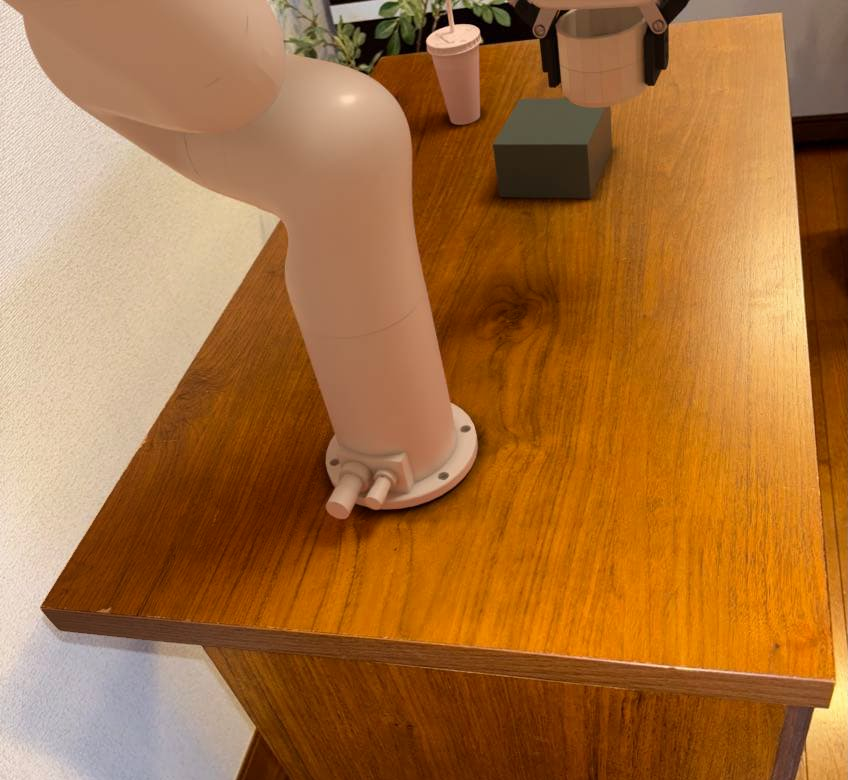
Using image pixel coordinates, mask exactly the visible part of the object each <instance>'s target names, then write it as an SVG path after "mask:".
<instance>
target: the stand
mask: <svg viewBox="0 0 848 780" xmlns="http://www.w3.org/2000/svg"><path fill="white" fill-rule="evenodd" d="M611 107H612V106H609V107H601V108H589V107H582V106H578V105H575V104H573V103H571V102H570V101H569V100H568V99H567V97H550V98H549V97H548V98H541V97H540V98H520V99H518V101H517V103H516V104H515V106H514V108H513V110H512V111H511V113H510V115H509V117H508V118H507V119H506V122H504V125H503V126H502V128H501V130H500V132H499V133H498V135H497V136H496V138H495V139H494V141H493V143H492V149H493V157H494V164H495V172H496V179H497V186H498V192H499V194H498V195H499V198H523V199H526V198H527V199H529V198H530V199H576V200H577V199H581V200H583V199H584V200H585V199H586V200H587V199H588V200H589V199H592V197H593V194H594V192H595V190H596V188H597V186H598V184H599V181H600V179H601V176H602V174H603V172H604V169H605V168H606V166H607V163H608V161H609V159H610V157H611V155H612V152H613V133H612V132H613V131H612V109H611Z"/></svg>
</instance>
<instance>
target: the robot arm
mask: <svg viewBox="0 0 848 780" xmlns="http://www.w3.org/2000/svg"><path fill="white" fill-rule="evenodd" d="M2 1H3V2H5V3H6V4H7V5H8V6H9V7H11V8H12V9H14V10H15V11H16V12H17V13H18V14H20V15H21V16H22V20H23V27H24V30H25V34H26V38H27V41H28V44H29V46H30V49H31V51H32V54H33V55H34V58H35V59H36V61H37V63H38V65H39V67H40V68H41V69H42V71H43V73H44V74H45V75H46V77H47V78H48V79H49V81H50V82H51V83H52V84H53V85H54V86H55V88H56V89H58V91H60V92H61V93H62V94H63V95H64V96H65V97H66V98H67V99H68V100H70V101H71V102H72V103H73V104H75V105H76V106H77V107H78V108H80V109H81V110H83V111H84V112H86V113H87V114H89V115H90V116H91V117H93V118H95V120H97V121H99V122H101V123H102V124H103V125H105V126H106V127H107V128H109V129H111V130H112V131H113V132H115V133H117V134H119V135H120V136H122V137H123V138H125V140H127V141H129V142H130V143H132V144H133V145H134V146H136V147H138V148H140V149H141V150H142V151H144V152H145V153H147V154H149V155H150V156H151V157H153V158H154V159H156V160H157V161H159V162H161V163H162V164H164V165H165V166H167V167H168V168H170V169H171V170H173V171H175V172H176V173H178V174H179V175H181V176H182V177H184V178H186V179H187V180H189V181H191V182H193V183H194V184H196V185H198V186H200V187H202V188H204V189H206V190H208V191H211V192H214V193H216V194H219V195H222V196H223V197H227V198H229V199H232V200H235V201H239V202H241V203H243V204H247V205H250V206H253V207H255V208H257V209H258V210H261V211H263V212H266V213H269V214H272V215H274V216H276V217H277V218H278V220H280V221H281V222H282V223H283V225H284V227H285V230H286V233H287V240H288V242H287V243H288V244H287V251H286V256H285V262H284V280H285V286H286V291H287V295H288V298H289V303H290V305H291V308H292V311H293V314H294V317H295V319H296V321H297V324H298V328H299V330H300V334H301V337H302V340H303V342H304V345H305V348H306V351H307V355H308V357H309V360H310V363H311V367H312V369H313V373H314V375H315V378H316V382H317V385H318V388H319V390H320V393H321V396H322V399H323V402H324V405H325V408H326V411H327V415H328V417H329V420H330V423H331V426H332V429H333V433H334V435H333V436H332V438H331V439H330V441H329V443H328V447H327V449H326V451H325V452H326V453H325V466H326V471H327V474H328V477H329V481H330V482H331V484H332V486H333V488H334V489H333V491H332V493H331V495H330V496H329V498H328V500H327V502H326V504H325V509H326V512H327V513H328V514H329V515H330V516H332V517H334V518H336V519H338V520H345V519H347V518H348V517H349V516H350V514H351V513H352V511H353V509H354V507H355V505H358V506H362V507H366V508H369V509H370V510H371V509H372V510H374V511H379V510H399V509H406V508H409V507H410V508H412V507H415V506H419V505H423V504H425V503H428V502H430V501H433V500H435V499H436V498H439V497H441V496H443V495H444V494H446V493H447V492H449V491H450V490H452V489H454V488H455V487H456V486H457V485H458V484H459V483H460V482H461V481H462V480H463V479H465V477H466V476H467V474H468V473H469V472H470V470H471V469H472V467H473V465H474V463H475V461H476V458H477V454H478V450H479V449H478V448H479V442H478V434H477V431H476V427H475V424H474V422H473V421H472V419H471V417H470V416H469V415H468V413H466V411H464V409H462V408H461V407H459V406H457V405H456V404H454V403H452V402H451V399H450V398H451V397H450V394H449V393H450V392H449V390H448V389H449V388H448V386H447V385H448V384H447V379H446V375H445V370H444V364H443V360H442V356H441V351H440V346H439V341H438V337H437V332H436V327H435V323H434V318H433V313H432V309H431V304H430V299H429V294H428V289H427V284H426V281H425V277H424V273H423V267H422V262H421V258H420V252H419V246H418V241H417V235H416V228H415V227H416V226H415V219H414V207H413V145H412V144H413V143H412V137H411V131H410V126H409V122H408V119H407V117H406V115H405V112H404V110H403V109H402V106H401V104H400V103H399V102H398V100H397V99H396V98H395V97H394V95H393V94H392V93H391V92H390V91H389V90H388V89H387V88H386V87H385V86H384V85H382V84H381V82H379V81H377V80H376V79H374V78H373V77H371V76H369V75H367V74H366V73H364V72H362V71H359V70H357V69H354V68H352V67H349V66H346V65H343V64H339V63H336V62H332V61H327V60H322V59H318V58H314V57H313V58H312V57H308V56H303V55H298V54H293V53H286V47H285V43H284V37H283V33H282V30H281V28H280V27H281V26H280V25H279V24H280V23H279V22H278V20H277V17H276V15H275V13H274V12H273V10H272V8H271V6H270V4H269V2H268V1H267V0H2ZM690 1H691V0H506V2H507V3H509V5H510V6H512V7H513V9H514V12H515V14H516V15H517V16H518V17H519V18H520V19H521V20H522V21H524V22H525V23H526V25H528V26H529V27H530V28H531V29H532V34H533V35H534V37H535V38H536V39H538V40H539V49H540V51H539V52H540V60H541V70H542V73H545V74H547V81H548V87H549V88H550V89H551V88H552V89H553V88H554V89H555V88H556V89H557V87H559V86H560V85H561V84H560V73H559V61H558V50H557V39H556V27H555V25H556V23H557V22H558V20H559V18H558V16H559V14H560V11H570V10H575V9H597V8H617V7H632V6H638V7H639V9H640V11H641V13H642V14H643V16H644V18H645V20H646V21H647V23H648V31H647V33H646V34H645V36H644V68H645V84H647V86H646V87H655V85H656V83H657V81H658V79H659V77H660V76H661V73H662V72H663V71H666V70H667V68H668V66H669V60H670V35H669V34H670V31H669V30H670V29H669V28H670V27H669V26H670V24H671V23H672V22H673V21H674V20H675V19H676V18H677V17H678V16H679V15H680V14H681V12H683V10H685V8H687V6H688V4H689V3H690Z"/></svg>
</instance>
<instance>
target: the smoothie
mask: <svg viewBox="0 0 848 780" xmlns="http://www.w3.org/2000/svg"><path fill="white" fill-rule="evenodd" d="M451 1H452V0H445V5H446V13H447V18H448V25H447V26H444V27H442V28H439V29H436V30H435V31H433V32H432V33H430V34H429V35H428V37H426V40H425V43H426V51H427V53H428V54H430V55H431V59H432V63H433V66H434V69H435V73H436V77H437V80H438V83H439V86H440V90H441V93H442V96H443V97H442V98H443V100H444V103H445V107H446V111H447V114H448V117H449V121H450V123H452V124H454V125H459V126H461V125H462V126H463V125H469V124H471V123H475V122H476V121H478V120H479V119H480V117H481V97H480V96H481V87H480V86H481V85H480V44H481V42H482V36H481V30H480V28H479V27H477V26H476V25H473V24H469V23H468V24H466V23H461V24H460V23H459V24H455V21H454V14H453V9H452V2H451Z"/></svg>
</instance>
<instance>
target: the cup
mask: <svg viewBox="0 0 848 780" xmlns="http://www.w3.org/2000/svg"><path fill="white" fill-rule="evenodd" d="M558 19H559V20H558V22H557V23H556V25H555V27H556V39H557V50H558V61H559V73H560V84H559V85H560V89H561V93H562V96H564V97H565V98H567V99H568V100H569V101H570V102H571V103H573V104H575V105H578V106H582V107H589V108H601V107H609V106H610V107H615V106H618V105H621V104H624V103H627V102H630V101H632V100H634V99H636V98H637V97H638V96H640V95H641V94H642V93H643V92H644V91H645V89H646V87H648V86H647V84H645V68H644V36H645V34H646V33H647V31H648V23H647V21H646V20H645V18H644V16H643V14H642V13H641V11H640V9H639V7H638V6H632V7H617V8H597V9H575V10H568V11H567V12H566V13H563V15H561V16H560V17H559V18H558Z"/></svg>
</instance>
